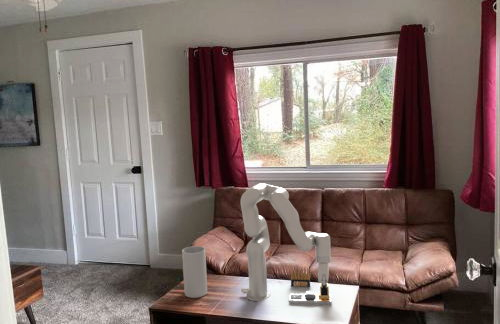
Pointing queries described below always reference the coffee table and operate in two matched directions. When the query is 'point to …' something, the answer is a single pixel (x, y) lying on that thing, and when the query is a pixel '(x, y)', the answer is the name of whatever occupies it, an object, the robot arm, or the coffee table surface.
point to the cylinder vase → (194, 271)
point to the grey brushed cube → (309, 295)
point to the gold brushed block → (324, 297)
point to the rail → (302, 300)
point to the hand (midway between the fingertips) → (324, 292)
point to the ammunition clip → (301, 281)
